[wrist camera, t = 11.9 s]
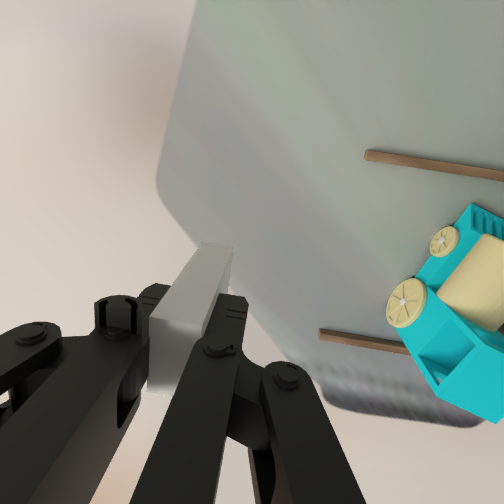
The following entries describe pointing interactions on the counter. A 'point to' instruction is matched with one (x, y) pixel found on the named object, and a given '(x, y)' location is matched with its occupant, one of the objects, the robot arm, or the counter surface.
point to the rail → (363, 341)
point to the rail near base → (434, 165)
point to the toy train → (458, 314)
